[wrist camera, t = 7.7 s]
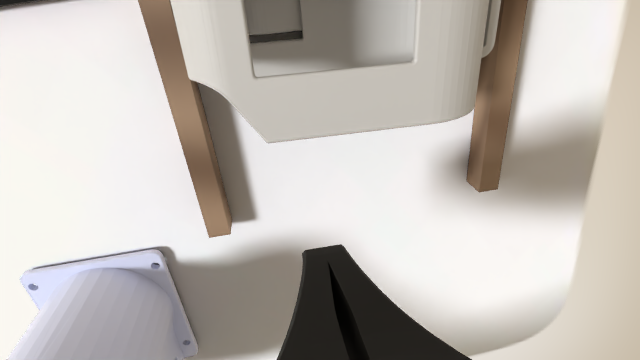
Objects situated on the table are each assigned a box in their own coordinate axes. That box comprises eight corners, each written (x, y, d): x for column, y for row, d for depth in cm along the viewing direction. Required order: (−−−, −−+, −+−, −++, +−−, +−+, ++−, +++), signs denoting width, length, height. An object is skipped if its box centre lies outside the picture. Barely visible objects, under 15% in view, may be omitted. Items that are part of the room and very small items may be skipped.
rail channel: (484, 178, 23) (524, 210, 20) (212, 222, 22) (203, 267, 18) (552, -323, 13) (656, -434, 10) (59, -307, 12) (-24, -433, 8)
